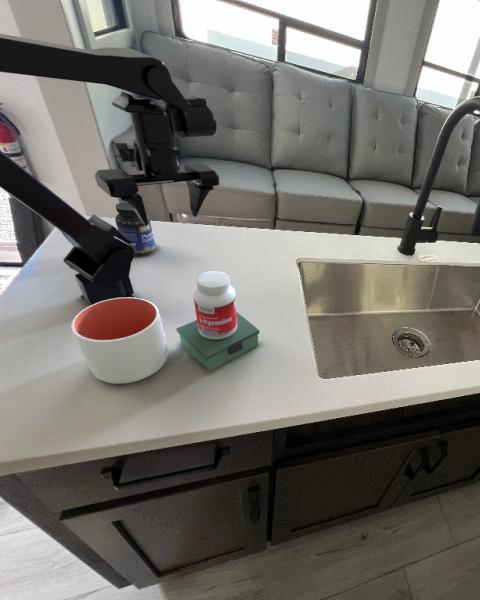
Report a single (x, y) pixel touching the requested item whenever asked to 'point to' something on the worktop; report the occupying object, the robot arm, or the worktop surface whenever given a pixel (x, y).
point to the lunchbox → (218, 343)
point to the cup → (121, 339)
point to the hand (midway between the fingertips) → (171, 220)
